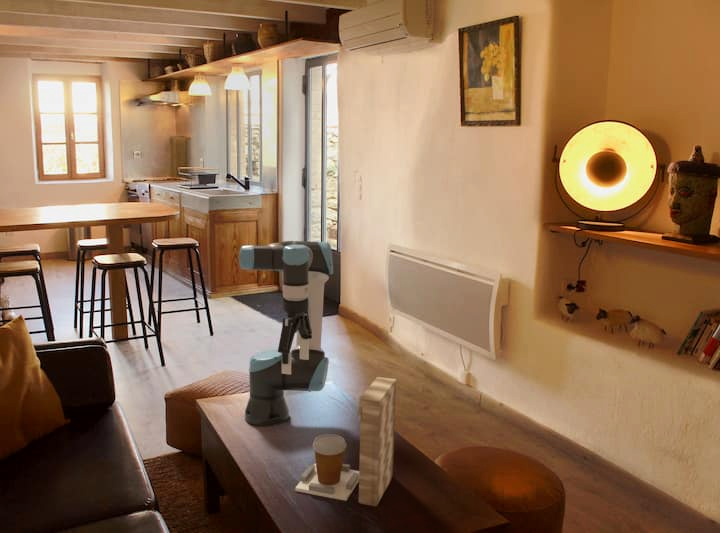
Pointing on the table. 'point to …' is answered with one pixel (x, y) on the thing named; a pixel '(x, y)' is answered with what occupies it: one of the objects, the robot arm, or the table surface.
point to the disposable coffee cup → (329, 458)
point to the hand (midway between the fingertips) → (295, 366)
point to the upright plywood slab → (376, 439)
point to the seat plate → (336, 491)
